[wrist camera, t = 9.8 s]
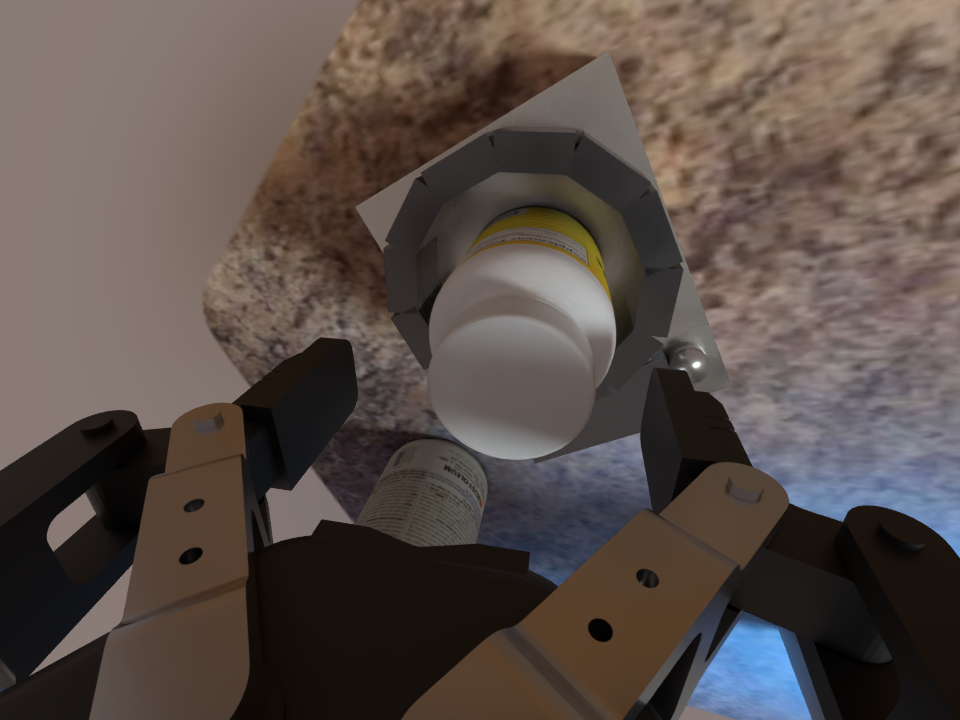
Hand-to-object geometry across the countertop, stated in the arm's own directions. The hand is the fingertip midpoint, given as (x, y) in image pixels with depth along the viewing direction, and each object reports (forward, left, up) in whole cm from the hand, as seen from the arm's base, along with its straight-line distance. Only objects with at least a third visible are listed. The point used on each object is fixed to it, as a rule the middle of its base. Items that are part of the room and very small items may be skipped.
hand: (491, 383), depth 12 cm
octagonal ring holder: (-1, -1, -11) cm, 11 cm away
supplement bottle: (0, -1, -9) cm, 9 cm away
